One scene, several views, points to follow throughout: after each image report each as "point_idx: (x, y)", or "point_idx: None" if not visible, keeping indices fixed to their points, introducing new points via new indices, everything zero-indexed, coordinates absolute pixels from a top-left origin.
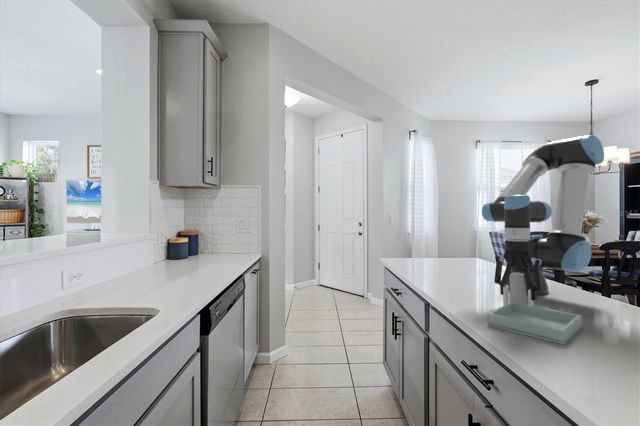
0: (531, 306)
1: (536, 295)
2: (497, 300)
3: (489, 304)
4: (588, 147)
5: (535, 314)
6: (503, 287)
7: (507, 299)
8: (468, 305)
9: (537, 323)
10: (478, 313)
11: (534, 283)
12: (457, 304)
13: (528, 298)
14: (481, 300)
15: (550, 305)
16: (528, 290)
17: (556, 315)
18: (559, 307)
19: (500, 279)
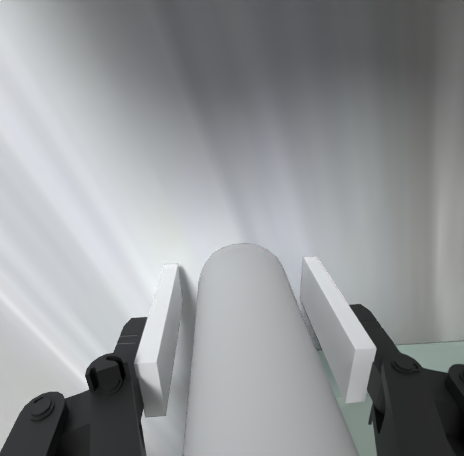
0: (352, 404)
1: (382, 334)
2: (59, 185)
3: (96, 311)
4: None
5: None
6: (149, 410)
7: (175, 302)
8: None
9: (372, 437)
10: (157, 448)
11: (433, 428)
12: (10, 416)
13: (326, 351)
14: (5, 268)
15: (381, 4)
16: (347, 392)
17: None
18: (442, 18)
19: (57, 437)
